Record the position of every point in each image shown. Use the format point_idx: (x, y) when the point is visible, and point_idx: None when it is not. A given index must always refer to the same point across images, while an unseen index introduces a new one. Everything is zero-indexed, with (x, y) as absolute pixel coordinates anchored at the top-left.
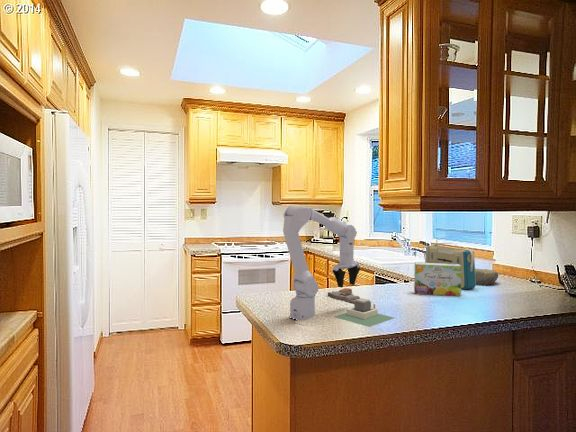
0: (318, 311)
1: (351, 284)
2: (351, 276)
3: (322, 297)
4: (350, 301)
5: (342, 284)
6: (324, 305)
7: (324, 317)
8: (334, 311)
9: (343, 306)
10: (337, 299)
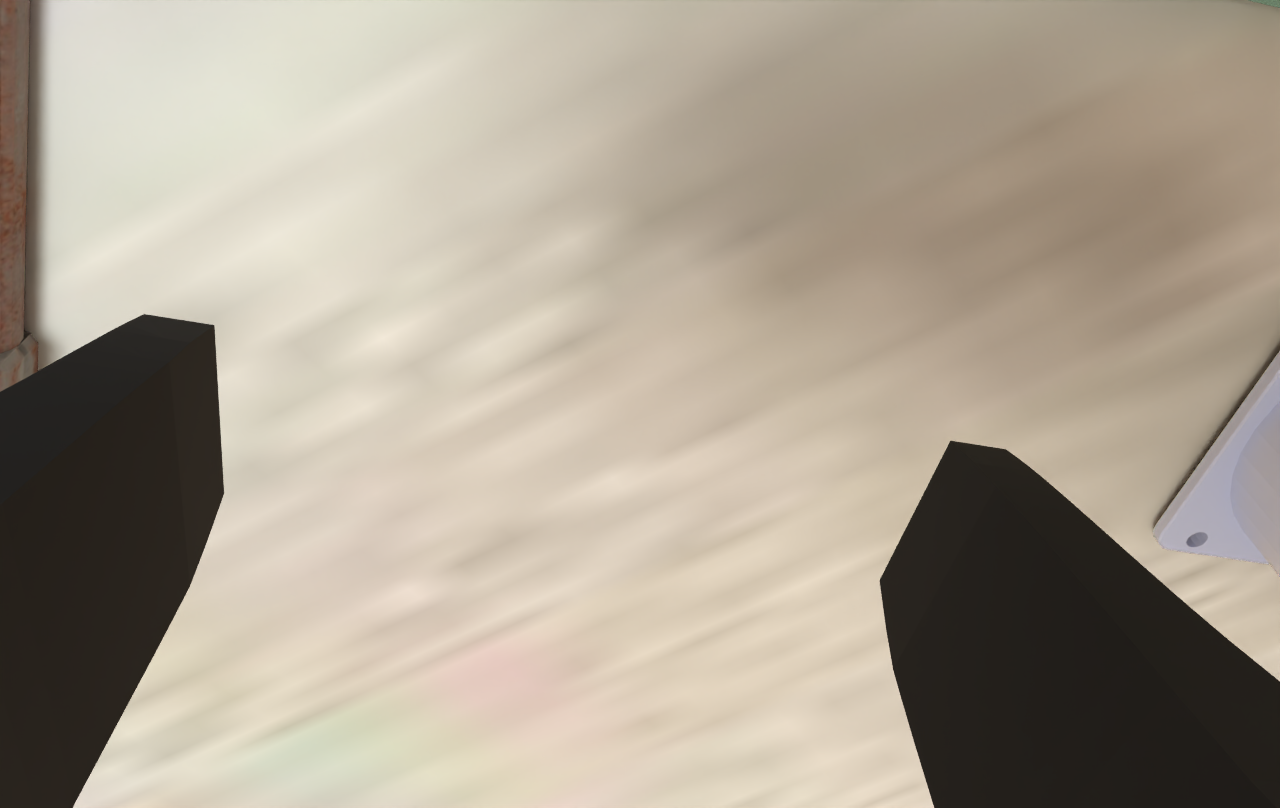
0: (930, 462)
1: (216, 425)
2: (21, 744)
3: (175, 751)
4: (13, 335)
5: (1079, 513)
6: (545, 553)
7: (1266, 219)
8: (794, 268)
9: (365, 302)
10: None
